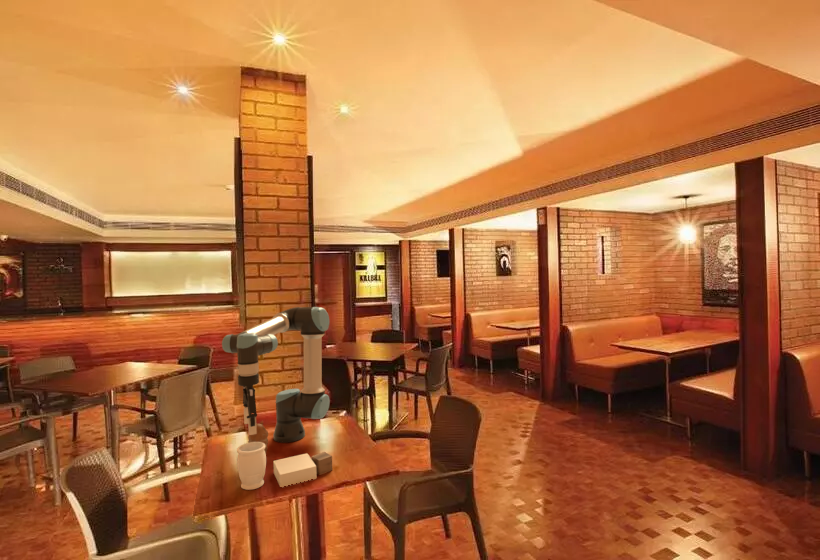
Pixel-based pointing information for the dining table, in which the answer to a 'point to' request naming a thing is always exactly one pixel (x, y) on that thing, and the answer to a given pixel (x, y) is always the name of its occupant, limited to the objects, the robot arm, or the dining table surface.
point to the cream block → (294, 470)
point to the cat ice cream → (260, 435)
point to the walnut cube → (322, 462)
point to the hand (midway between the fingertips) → (250, 428)
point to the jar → (251, 464)
